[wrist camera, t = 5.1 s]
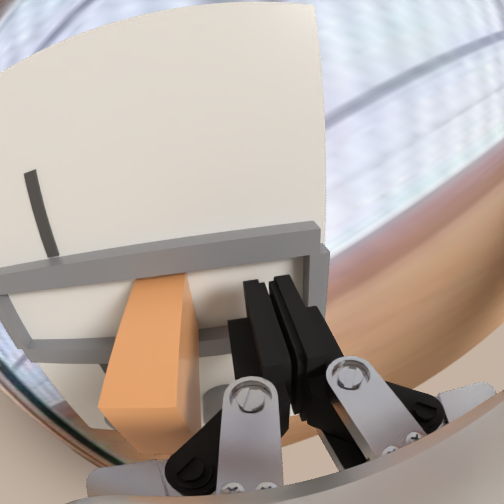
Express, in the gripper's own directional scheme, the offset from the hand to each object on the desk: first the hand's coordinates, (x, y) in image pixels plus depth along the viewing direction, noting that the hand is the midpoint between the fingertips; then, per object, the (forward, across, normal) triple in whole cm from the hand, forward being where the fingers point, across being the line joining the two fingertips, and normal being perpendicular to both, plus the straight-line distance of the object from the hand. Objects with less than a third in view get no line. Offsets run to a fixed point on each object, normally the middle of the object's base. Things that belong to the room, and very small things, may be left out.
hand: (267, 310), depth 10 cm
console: (+3, +5, 0) cm, 6 cm away
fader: (+1, +4, 0) cm, 4 cm away
